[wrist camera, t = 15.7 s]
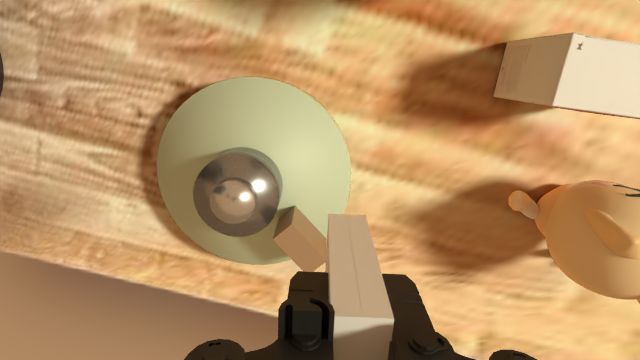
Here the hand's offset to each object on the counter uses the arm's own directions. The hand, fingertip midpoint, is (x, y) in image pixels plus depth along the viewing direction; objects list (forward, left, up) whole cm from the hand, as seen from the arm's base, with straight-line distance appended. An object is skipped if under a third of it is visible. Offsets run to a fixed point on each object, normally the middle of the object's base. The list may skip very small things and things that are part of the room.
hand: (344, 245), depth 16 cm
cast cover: (-9, -5, -24) cm, 26 cm away
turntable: (-8, -4, -27) cm, 28 cm away
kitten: (+26, -9, -27) cm, 38 cm away
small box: (+21, +6, -27) cm, 35 cm away
